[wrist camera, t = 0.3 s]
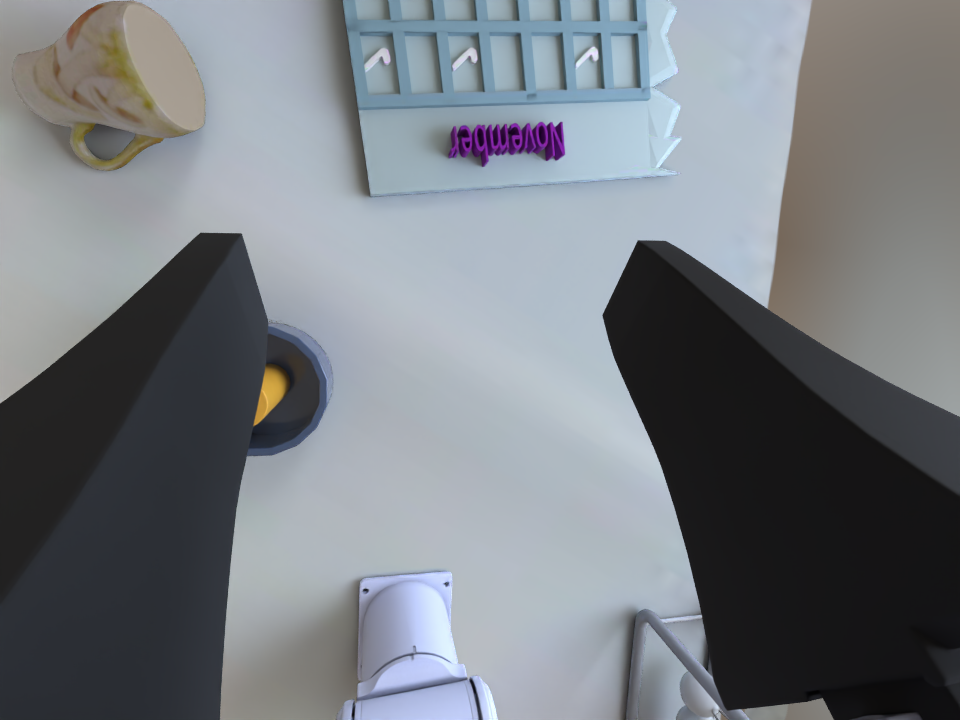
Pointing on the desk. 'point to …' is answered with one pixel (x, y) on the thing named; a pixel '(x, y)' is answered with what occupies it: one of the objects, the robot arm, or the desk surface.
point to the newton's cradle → (694, 683)
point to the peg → (272, 390)
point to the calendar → (510, 91)
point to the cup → (293, 391)
